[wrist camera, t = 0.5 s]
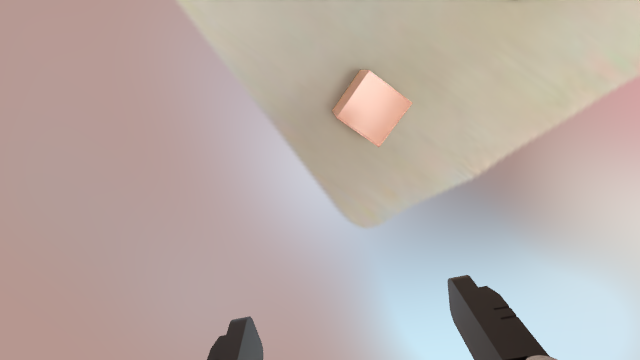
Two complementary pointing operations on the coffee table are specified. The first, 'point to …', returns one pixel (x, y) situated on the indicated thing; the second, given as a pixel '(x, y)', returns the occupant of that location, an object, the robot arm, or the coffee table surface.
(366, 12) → the coffee table surface
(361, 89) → the terracotta cube
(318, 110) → the coffee table surface
